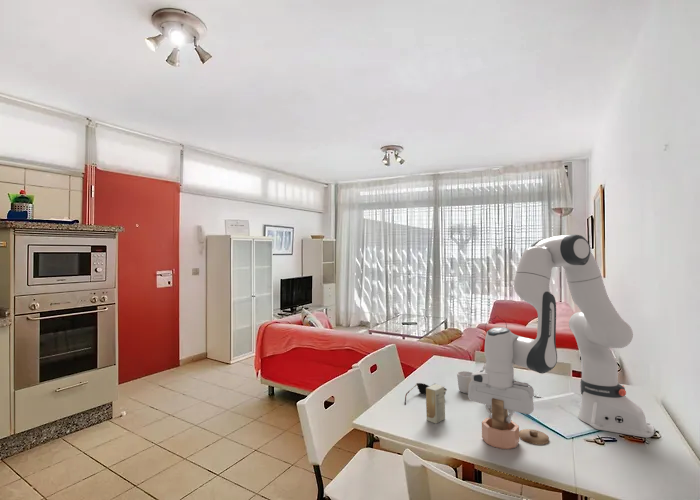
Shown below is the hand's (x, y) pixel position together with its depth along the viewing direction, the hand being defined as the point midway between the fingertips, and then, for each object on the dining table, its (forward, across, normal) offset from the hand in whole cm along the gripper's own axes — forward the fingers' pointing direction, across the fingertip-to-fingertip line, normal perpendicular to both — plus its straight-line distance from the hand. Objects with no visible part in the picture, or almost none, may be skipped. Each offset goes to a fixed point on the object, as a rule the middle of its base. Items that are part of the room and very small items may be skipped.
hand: (500, 420), depth 124 cm
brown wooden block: (+5, 0, 0) cm, 5 cm away
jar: (+7, 0, 0) cm, 7 cm away
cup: (+7, +25, -38) cm, 46 cm away
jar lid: (+7, -8, -9) cm, 14 cm away
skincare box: (+7, +24, -2) cm, 25 cm away
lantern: (+7, +23, -71) cm, 75 cm away
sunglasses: (+7, +36, -16) cm, 40 cm away
